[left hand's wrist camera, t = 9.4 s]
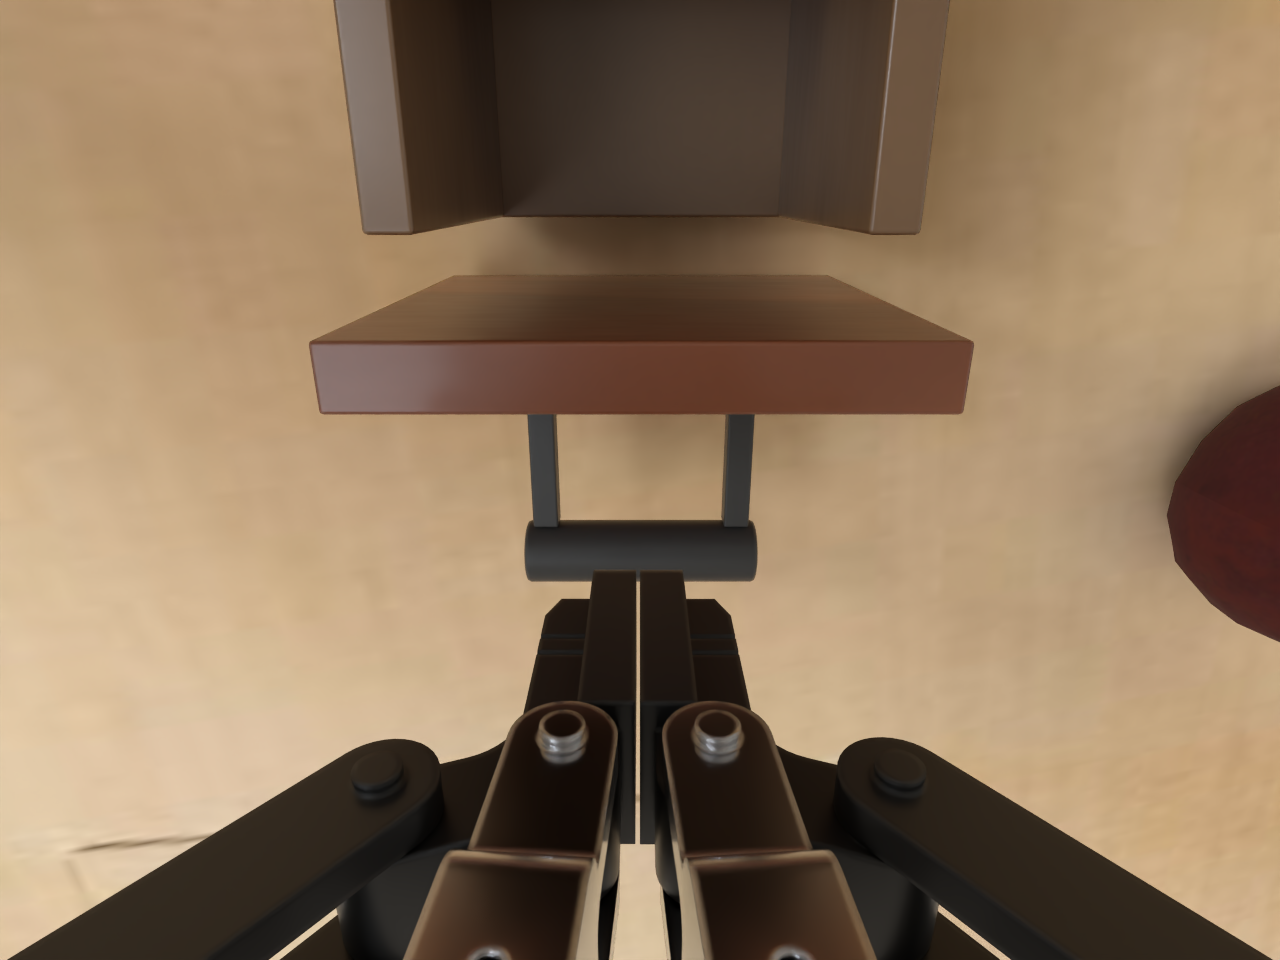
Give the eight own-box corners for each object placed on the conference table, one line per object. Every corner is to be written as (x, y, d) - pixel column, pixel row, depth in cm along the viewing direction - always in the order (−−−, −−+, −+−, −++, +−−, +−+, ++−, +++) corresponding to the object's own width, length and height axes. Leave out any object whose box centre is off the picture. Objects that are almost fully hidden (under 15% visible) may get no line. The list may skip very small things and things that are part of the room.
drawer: (809, 507, 23) (917, 710, 14) (472, 507, 23) (366, 709, 14) (891, -424, 16) (1236, -1262, 7) (390, -423, 16) (49, -1262, 7)
